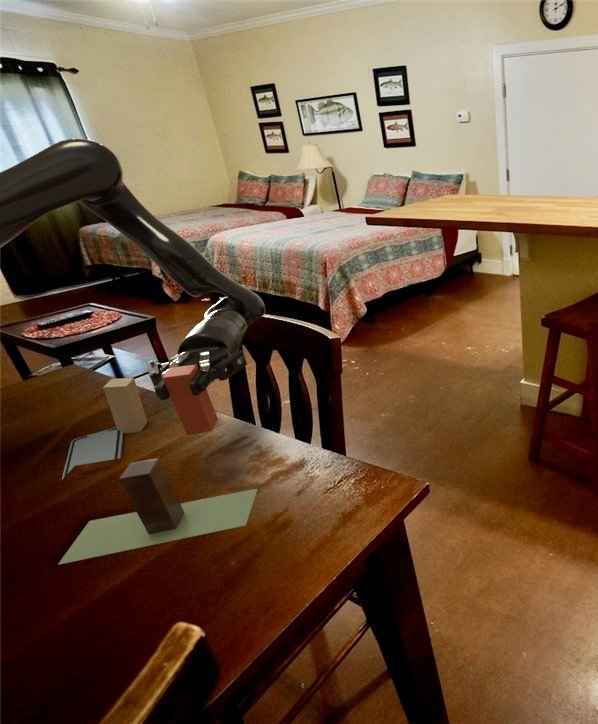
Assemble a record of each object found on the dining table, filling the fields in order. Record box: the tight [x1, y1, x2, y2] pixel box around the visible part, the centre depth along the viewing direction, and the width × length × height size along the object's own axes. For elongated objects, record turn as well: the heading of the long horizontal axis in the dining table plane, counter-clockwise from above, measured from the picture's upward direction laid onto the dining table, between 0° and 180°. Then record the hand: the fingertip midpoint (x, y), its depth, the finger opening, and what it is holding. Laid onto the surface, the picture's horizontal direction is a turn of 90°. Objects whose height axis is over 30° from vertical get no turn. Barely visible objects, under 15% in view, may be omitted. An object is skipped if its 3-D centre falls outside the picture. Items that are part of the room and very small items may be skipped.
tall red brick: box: [162, 364, 219, 436], centre depth 71 cm, size 3×3×10 cm
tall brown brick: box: [118, 457, 184, 534], centre depth 66 cm, size 3×3×10 cm
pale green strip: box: [57, 488, 259, 566], centre depth 68 cm, size 22×8×1 cm, turn 107°
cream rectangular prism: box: [103, 377, 148, 435], centre depth 89 cm, size 3×3×10 cm
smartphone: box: [61, 426, 124, 480], centre depth 83 cm, size 7×1×15 cm
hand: (178, 391), depth 68 cm, fingers closed on tall red brick, 3 cm apart
